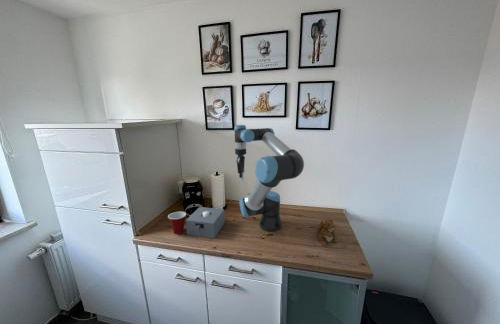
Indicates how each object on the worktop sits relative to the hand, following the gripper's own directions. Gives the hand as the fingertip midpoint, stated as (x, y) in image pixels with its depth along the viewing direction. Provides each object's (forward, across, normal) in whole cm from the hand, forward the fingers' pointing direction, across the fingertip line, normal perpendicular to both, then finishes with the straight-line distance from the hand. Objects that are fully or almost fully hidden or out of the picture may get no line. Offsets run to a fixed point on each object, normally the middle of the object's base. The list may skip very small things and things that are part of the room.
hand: (241, 181), depth 140 cm
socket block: (+26, +21, -18) cm, 38 cm away
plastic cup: (+27, +28, -34) cm, 51 cm away
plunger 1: (+20, +29, -18) cm, 39 cm away
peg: (+26, +20, -18) cm, 38 cm away
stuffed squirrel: (+27, +15, +56) cm, 63 cm away
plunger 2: (+20, +13, -18) cm, 30 cm away
